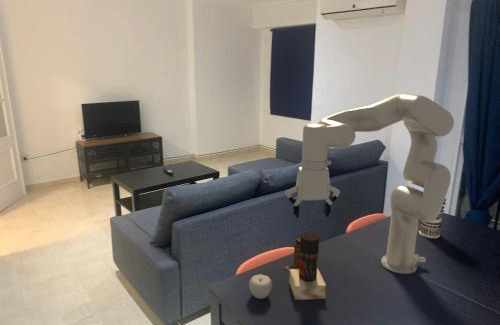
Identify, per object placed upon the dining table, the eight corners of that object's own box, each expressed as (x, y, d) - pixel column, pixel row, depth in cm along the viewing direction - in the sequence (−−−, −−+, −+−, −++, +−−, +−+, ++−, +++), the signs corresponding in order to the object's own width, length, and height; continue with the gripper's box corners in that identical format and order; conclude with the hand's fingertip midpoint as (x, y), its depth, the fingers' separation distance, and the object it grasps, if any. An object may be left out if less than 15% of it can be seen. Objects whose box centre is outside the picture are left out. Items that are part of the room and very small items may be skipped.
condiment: (314, 270, 132) (316, 241, 129) (297, 277, 128) (298, 247, 125) (301, 261, 138) (303, 233, 135) (284, 267, 134) (285, 238, 130)
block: (317, 280, 126) (317, 268, 124) (324, 298, 116) (326, 285, 115) (289, 281, 125) (289, 269, 123) (294, 299, 115) (295, 286, 114)
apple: (248, 287, 121) (248, 270, 119) (271, 288, 121) (272, 271, 119) (247, 303, 113) (248, 285, 112) (272, 303, 113) (273, 285, 111)
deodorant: (317, 282, 116) (320, 240, 112) (299, 281, 116) (302, 240, 112) (315, 272, 122) (317, 232, 118) (297, 271, 122) (299, 231, 118)
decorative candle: (415, 228, 167) (422, 178, 161) (436, 230, 166) (444, 179, 159) (421, 237, 158) (429, 184, 152) (443, 239, 157) (452, 185, 151)
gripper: (337, 160, 113) (334, 210, 118) (284, 161, 112) (282, 211, 116) (345, 167, 106) (341, 219, 110) (288, 168, 105) (287, 221, 109)
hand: (311, 215), depth 113 cm, fingers open, 9 cm apart
